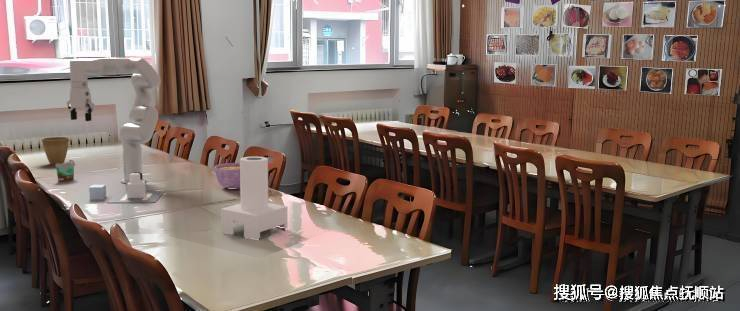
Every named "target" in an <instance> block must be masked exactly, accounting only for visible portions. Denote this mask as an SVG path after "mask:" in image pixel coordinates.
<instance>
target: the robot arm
mask: <svg viewBox="0 0 740 311" xmlns="http://www.w3.org/2000/svg"><path fill="white" fill-rule="evenodd" d="M99 74H102V75H115V76H116V75H131V78H130V81H131V84H132V86H133V88H134V89H133V90H134V93H135V97H134V100H133V103H132V105H131V108H130V110H129V116H128V117H129V120H130V121H132V122H134V123H132V122H131V123H128V122H127V123H125V124H122V125H121V127H120V130H119V135H120V141H121V145H122V161H123V163H122V164H123V178H122V179H120V182H121V183H122V184H126V185H127V184H128V183H129V182H130V181H129V174H130V173H133V172H140V173H142V181H145V182H146V181H147V180H146V177H143V155H142V154H143V153H142V152H143V151H142V146H141V143H148V142H149V141H150V140H151V139H152V138H153V134H154V132H155V129H156V126H157V124H158V121H159V112H158V109H157V108H156V107H155V106H152V105H151V102H152V94H151V91H150V89H151V90H153V89H154V90H155V89H157V88H158V87H160V86H161V84H162V82H161V76H160V75H159V73H158V72H157V71H156V69H154V67H153V66H152V65H151V64H150V63H149V62H148V61H147V60H146V59H144V58H141V57H102V58H78V59H77V58H76V59H71V60H70V61H69V75H70V91H69V100H68V101H66V106H67V108H68V111H69V112H70V120H71V121H73V120H74V121H75V120H78V113H77V112H78V111H77V109H80V110H81V109H82V110H84V112H85V113H84V117H85V119H84V120H85V121H86V122H91V121H92V113H93V110H94V107H95V103H94V102H93V101H92V96H91V91H90V88H89V83H88V75H99Z"/></svg>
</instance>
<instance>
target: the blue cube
mask: <svg viewBox="0 0 740 311" xmlns="http://www.w3.org/2000/svg"><path fill="white" fill-rule="evenodd" d="M88 190H89V191H88V192H89V200H104V199H105V198H107V186H106V184H91V186H89V187H88Z"/></svg>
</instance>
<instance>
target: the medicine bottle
mask: <svg viewBox="0 0 740 311" xmlns="http://www.w3.org/2000/svg"><path fill="white" fill-rule="evenodd" d="M142 174H143V172H142V173H140V172H133V173H130V174H129V181H130V182H129V183H128V184H127V183H126V192H127V198H143V197H144V196H145V195H146V192H147V191H146V190H147V189H146V181H142Z"/></svg>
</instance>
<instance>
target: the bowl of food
mask: <svg viewBox="0 0 740 311" xmlns="http://www.w3.org/2000/svg"><path fill="white" fill-rule="evenodd" d="M213 167H214V173H215V176H216V180H217V182H218V184H219V186H221V187H223V188H225V189H226V188H240V162H231V163H229V162H227V163H220V164H216V165H214V166H213Z"/></svg>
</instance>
